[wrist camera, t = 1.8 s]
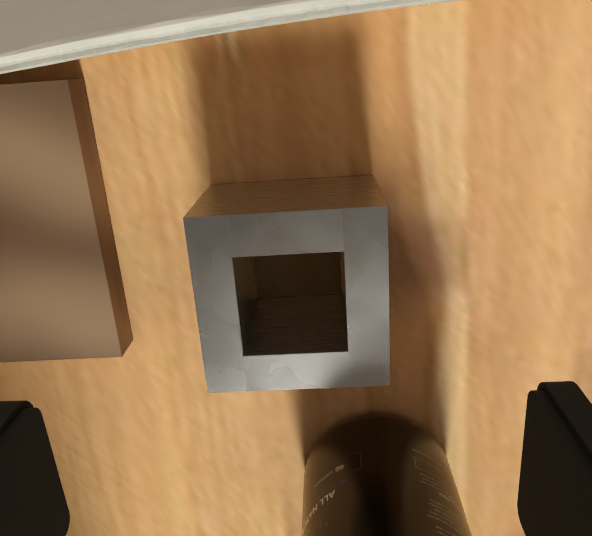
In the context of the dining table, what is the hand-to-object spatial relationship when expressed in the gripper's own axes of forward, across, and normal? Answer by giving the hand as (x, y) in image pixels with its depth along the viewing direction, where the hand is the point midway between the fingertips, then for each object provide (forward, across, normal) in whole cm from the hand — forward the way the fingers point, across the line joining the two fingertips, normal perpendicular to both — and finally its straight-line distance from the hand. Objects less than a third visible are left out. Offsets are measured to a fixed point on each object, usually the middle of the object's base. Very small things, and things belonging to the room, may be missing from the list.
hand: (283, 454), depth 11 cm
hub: (+13, 0, +1) cm, 13 cm away
